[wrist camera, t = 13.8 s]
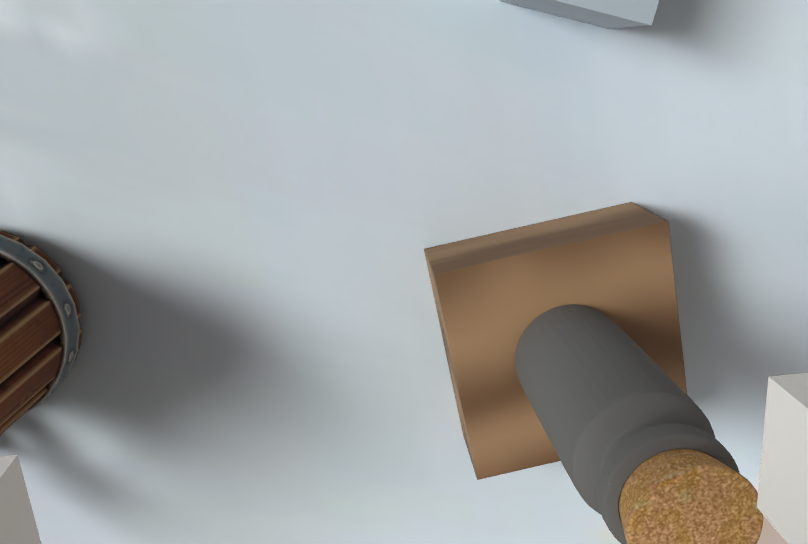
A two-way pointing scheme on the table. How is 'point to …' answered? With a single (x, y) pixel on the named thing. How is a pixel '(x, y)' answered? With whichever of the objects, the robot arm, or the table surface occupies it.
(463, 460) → the table surface
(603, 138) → the table surface
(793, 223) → the table surface
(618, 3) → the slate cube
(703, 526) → the bottle
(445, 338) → the walnut block
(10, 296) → the mug
